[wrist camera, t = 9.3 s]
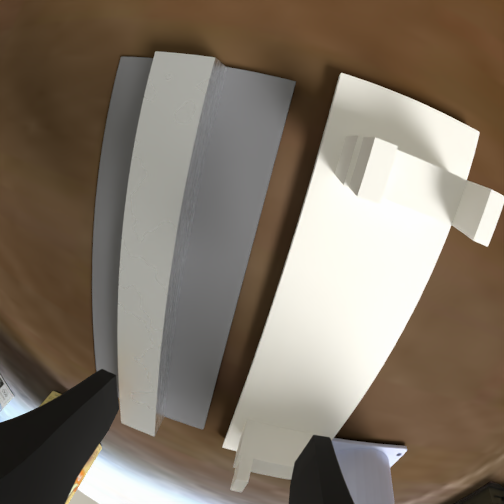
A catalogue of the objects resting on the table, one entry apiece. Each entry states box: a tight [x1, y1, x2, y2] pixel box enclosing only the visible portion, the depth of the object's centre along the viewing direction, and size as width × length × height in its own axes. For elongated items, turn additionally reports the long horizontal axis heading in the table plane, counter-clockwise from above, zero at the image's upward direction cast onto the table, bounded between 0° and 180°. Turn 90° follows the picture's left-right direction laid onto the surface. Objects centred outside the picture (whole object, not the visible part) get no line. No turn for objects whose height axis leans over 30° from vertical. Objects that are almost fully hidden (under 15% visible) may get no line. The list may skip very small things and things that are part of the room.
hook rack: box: [223, 73, 504, 492], centre depth 16 cm, size 28×8×6 cm, turn 166°
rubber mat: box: [92, 57, 296, 429], centre depth 19 cm, size 26×10×1 cm, turn 166°
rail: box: [117, 51, 228, 437], centre depth 18 cm, size 26×3×2 cm, turn 166°
